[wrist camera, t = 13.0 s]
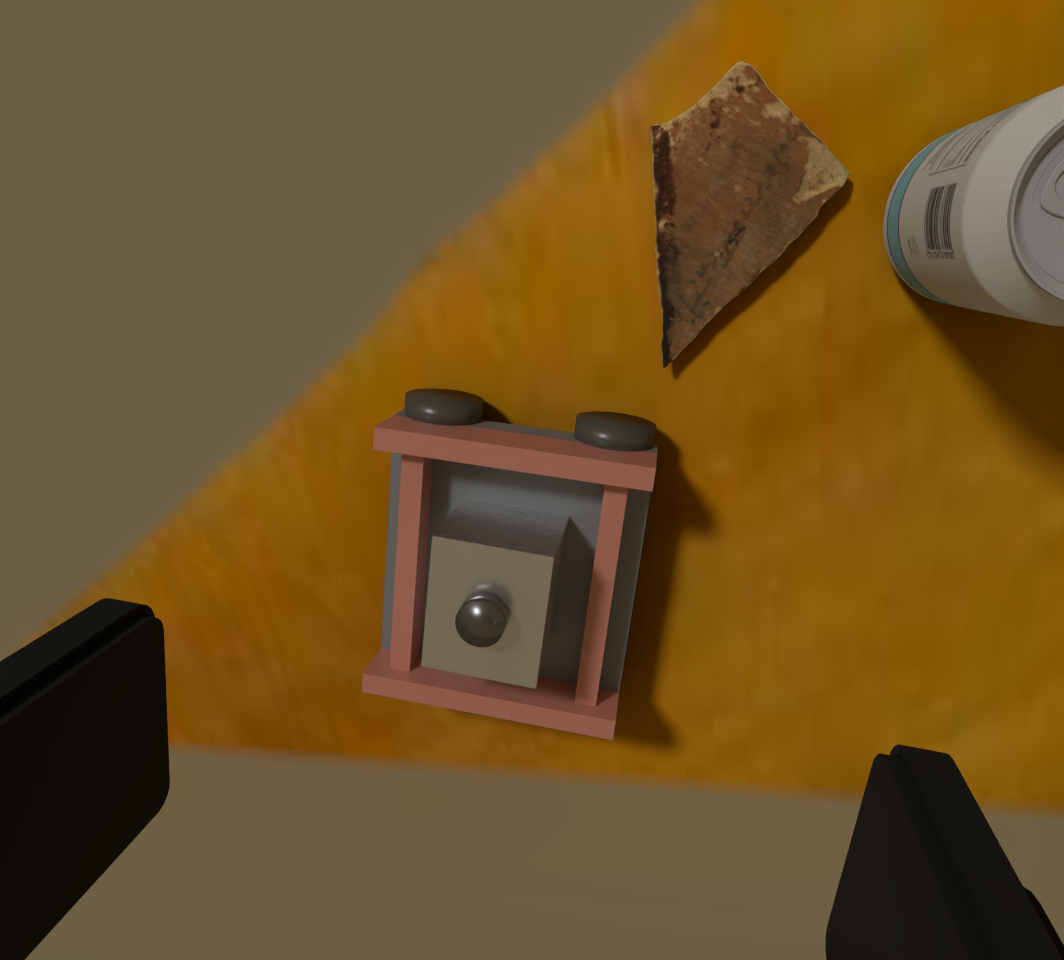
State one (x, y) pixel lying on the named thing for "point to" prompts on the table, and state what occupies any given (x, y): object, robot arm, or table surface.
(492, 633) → the cube with metal knob
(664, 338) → the shard
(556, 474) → the chassis
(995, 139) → the beverage can
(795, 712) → the table surface
